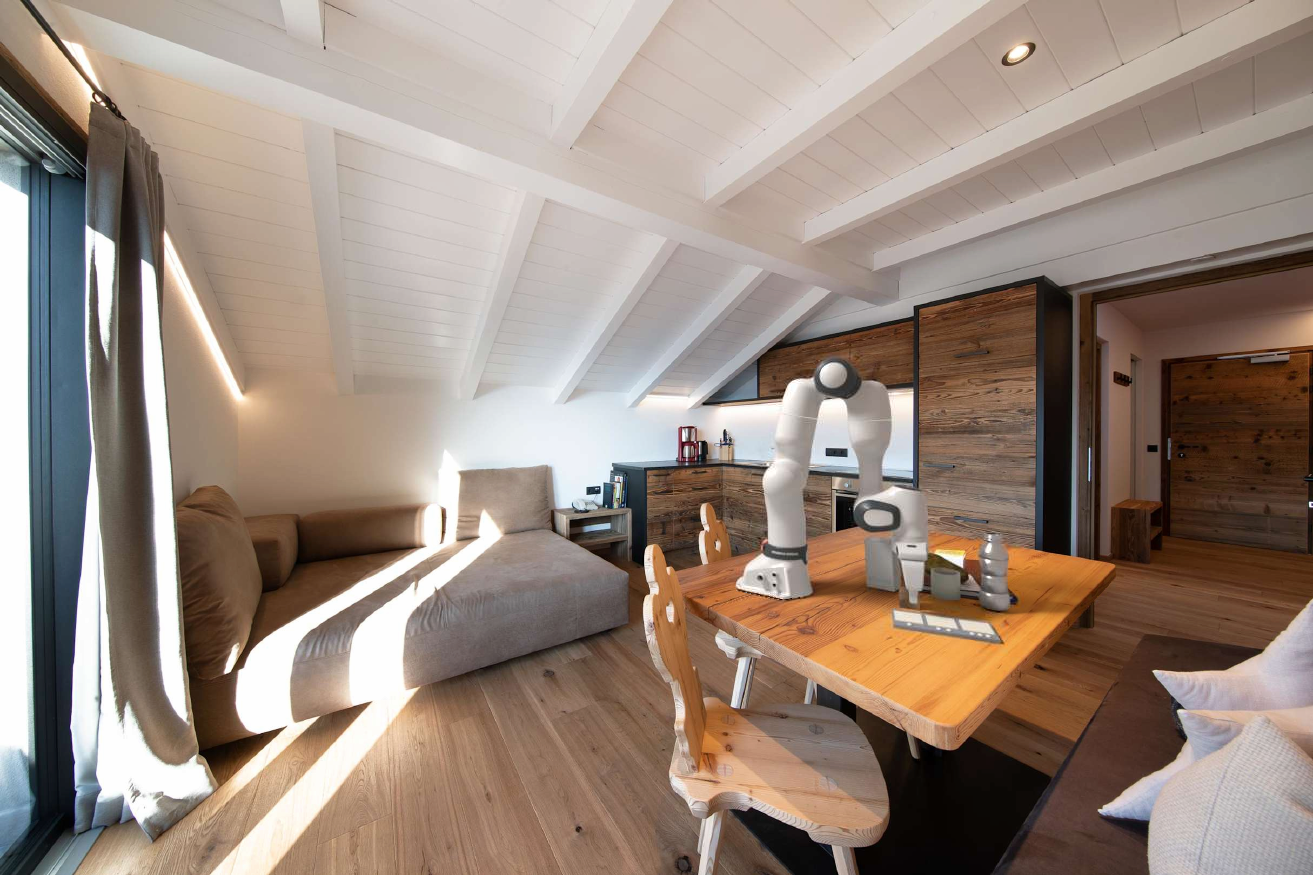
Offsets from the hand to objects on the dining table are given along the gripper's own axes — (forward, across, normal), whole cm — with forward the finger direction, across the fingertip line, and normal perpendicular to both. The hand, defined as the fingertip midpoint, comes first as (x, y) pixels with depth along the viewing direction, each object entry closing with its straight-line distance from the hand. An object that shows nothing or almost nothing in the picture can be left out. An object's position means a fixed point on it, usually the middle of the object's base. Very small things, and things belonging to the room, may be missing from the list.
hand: (911, 595), depth 119 cm
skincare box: (+3, -13, -7) cm, 15 cm away
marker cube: (+3, 0, -1) cm, 3 cm away
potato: (+3, -26, +10) cm, 28 cm away
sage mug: (+3, -12, +9) cm, 16 cm away
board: (+3, +11, +5) cm, 12 cm away
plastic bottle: (+3, -6, +19) cm, 21 cm away
